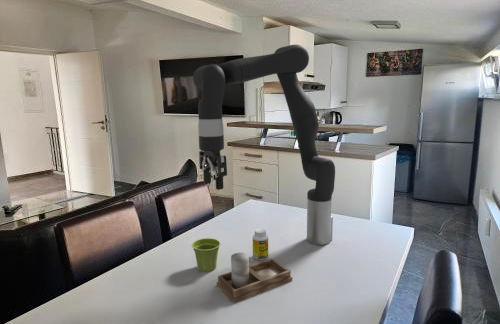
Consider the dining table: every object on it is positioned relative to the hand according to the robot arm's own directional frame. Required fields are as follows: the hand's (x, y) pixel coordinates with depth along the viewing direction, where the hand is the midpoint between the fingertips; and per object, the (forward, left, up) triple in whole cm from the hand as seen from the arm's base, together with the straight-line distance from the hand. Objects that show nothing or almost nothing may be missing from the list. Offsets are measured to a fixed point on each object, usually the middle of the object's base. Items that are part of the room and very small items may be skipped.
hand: (213, 186), depth 104 cm
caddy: (-7, +12, -29) cm, 32 cm away
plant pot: (+1, -5, -30) cm, 30 cm away
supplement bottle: (-18, -1, -30) cm, 35 cm away
